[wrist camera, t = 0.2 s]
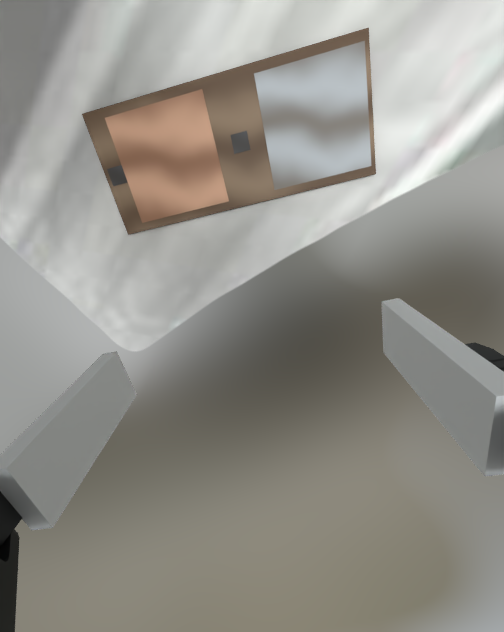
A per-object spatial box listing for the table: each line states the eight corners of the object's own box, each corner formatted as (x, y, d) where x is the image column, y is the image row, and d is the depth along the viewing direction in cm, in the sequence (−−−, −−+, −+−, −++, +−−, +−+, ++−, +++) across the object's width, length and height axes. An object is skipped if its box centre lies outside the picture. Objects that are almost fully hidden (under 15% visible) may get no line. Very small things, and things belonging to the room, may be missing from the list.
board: (84, 115, 33) (81, 113, 32) (366, 30, 29) (368, 27, 29) (130, 234, 38) (127, 234, 37) (373, 174, 35) (376, 173, 34)
